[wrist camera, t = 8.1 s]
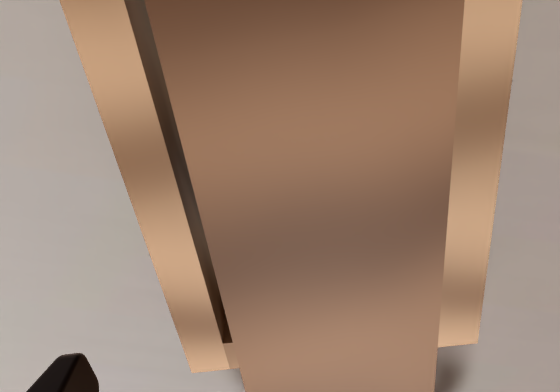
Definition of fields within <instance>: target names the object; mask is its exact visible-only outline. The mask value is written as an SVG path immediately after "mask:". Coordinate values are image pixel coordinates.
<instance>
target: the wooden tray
mask: <svg viewBox="0 0 560 392" xmlns="http://www.w3.org/2000/svg"><path fill="white" fill-rule="evenodd" d="M60 3H61V6H62V8H63V11H64V14H65V17H66V20H67V23H68V25H69V28H70V31H71V34H72V37H73V39H74V42H75V45H76V48H77V51H78V53H79V56H80V59H81V62H82V65H83V68H84V70H85V73H86V76H87V79H88V82H89V84H90V87H91V90H92V93H93V96H94V99H95V101H96V104H97V107H98V110H99V113H100V115H101V118H102V121H103V124H104V127H105V130H106V132H107V135H108V138H109V141H110V144H111V146H112V149H113V152H114V155H115V158H116V161H117V163H118V166H119V169H120V172H121V175H122V177H123V180H124V183H125V186H126V189H127V192H128V194H129V197H130V200H131V203H132V206H133V208H134V211H135V214H136V217H137V220H138V223H139V225H140V228H141V231H142V234H143V237H144V239H145V242H146V245H147V248H148V251H149V254H150V256H151V259H152V262H153V265H154V268H155V270H156V273H157V276H158V279H159V282H160V285H161V287H162V290H163V293H164V296H165V299H166V301H167V304H168V307H169V310H170V313H171V316H172V318H173V321H174V324H175V327H176V330H177V332H178V335H179V338H180V341H181V344H182V347H183V349H184V352H185V355H186V358H187V361H188V363H189V366H190V369H191V372H192V373H197V372H207V371H216V370H226V369H235V368H239V364H238V361H237V357H236V353H235V349H234V345H233V341H232V337H231V333H230V330H229V326H228V322H227V318H226V314H225V310H224V306H223V303H222V299H221V295H220V291H219V287H218V283H217V279H216V275H215V272H214V268H213V264H212V260H211V256H210V252H209V248H208V245H207V241H206V237H205V233H204V229H203V225H202V221H201V217H200V214H199V210H198V206H197V202H196V198H195V194H194V190H193V187H192V183H191V179H190V175H189V171H188V167H187V163H186V160H185V156H184V152H183V148H182V144H181V140H180V136H179V132H178V129H177V125H176V121H175V117H174V113H173V109H172V105H171V102H170V98H169V94H168V90H167V86H166V82H165V78H164V74H163V71H162V67H161V63H160V59H159V55H158V51H157V47H156V44H155V40H154V36H153V32H152V28H151V24H150V20H149V16H148V13H147V9H146V5H145V1H144V0H60ZM521 7H522V0H465V2H464V15H463V28H462V41H461V54H460V67H459V80H458V92H457V105H456V118H455V131H454V144H453V157H452V170H451V182H450V195H449V208H448V221H447V234H446V247H445V260H444V273H443V285H442V298H441V311H440V324H439V337H438V347H446V346H455V345H465V344H475V343H477V342H478V335H479V327H480V320H481V312H482V304H483V297H484V289H485V282H486V274H487V266H488V259H489V251H490V243H491V236H492V228H493V221H494V213H495V205H496V198H497V190H498V182H499V175H500V167H501V160H502V152H503V144H504V137H505V129H506V122H507V114H508V106H509V99H510V91H511V83H512V76H513V68H514V61H515V53H516V45H517V38H518V30H519V22H520V15H521Z"/></svg>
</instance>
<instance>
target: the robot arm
mask: <svg viewBox="0 0 560 392" xmlns="http://www.w3.org/2000/svg"><path fill="white" fill-rule="evenodd" d="M26 392H99V383H98V380H97V377H96V375H95V374H94V372H93V370H92V368H91V366H90V364H89V362H88V360H87V358H86V357H85V355H83V354H82V353H74V354H65V355H61V356H59V357H58V358H57V359H56V360H55V361H54V362H53V363H52V364H51V365H50V366H49V367H48V368H47V370H46V371H45V372H44V373H43V374H42V375H41V376H40V377H39V378H38V379H37V381H36V382H35V383H34V384H33V385H32V386H31V387H30V388H29V389H28V390H27V391H26Z"/></svg>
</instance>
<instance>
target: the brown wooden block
mask: <svg viewBox="0 0 560 392" xmlns="http://www.w3.org/2000/svg"><path fill="white" fill-rule="evenodd" d="M144 1H145V5H146V9H147V13H148V16H149V20H150V24H151V28H152V32H153V36H154V40H155V44H156V47H157V51H158V55H159V59H160V63H161V67H162V71H163V74H164V78H165V82H166V86H167V90H168V94H169V98H170V102H171V105H172V109H173V113H174V117H175V121H176V125H177V129H178V132H179V136H180V140H181V144H182V148H183V152H184V156H185V160H186V163H187V167H188V171H189V175H190V179H191V183H192V187H193V190H194V194H195V198H196V202H197V206H198V210H199V214H200V217H201V221H202V225H203V229H204V233H205V237H206V241H207V245H208V248H209V252H210V256H211V260H212V264H213V268H214V272H215V275H216V279H217V283H218V287H219V291H220V295H221V299H222V303H223V306H224V310H225V314H226V318H227V322H228V326H229V330H230V333H231V337H232V341H233V345H234V349H235V353H236V357H237V361H238V364H239V368H240V372H241V376H242V380H243V384H244V388H245V391H246V392H434V388H435V375H436V363H437V350H438V337H439V324H440V311H441V298H442V285H443V273H444V260H445V247H446V234H447V221H448V208H449V195H450V182H451V170H452V157H453V144H454V131H455V118H456V105H457V92H458V80H459V67H460V54H461V41H462V28H463V15H464V2H465V0H144Z"/></svg>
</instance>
